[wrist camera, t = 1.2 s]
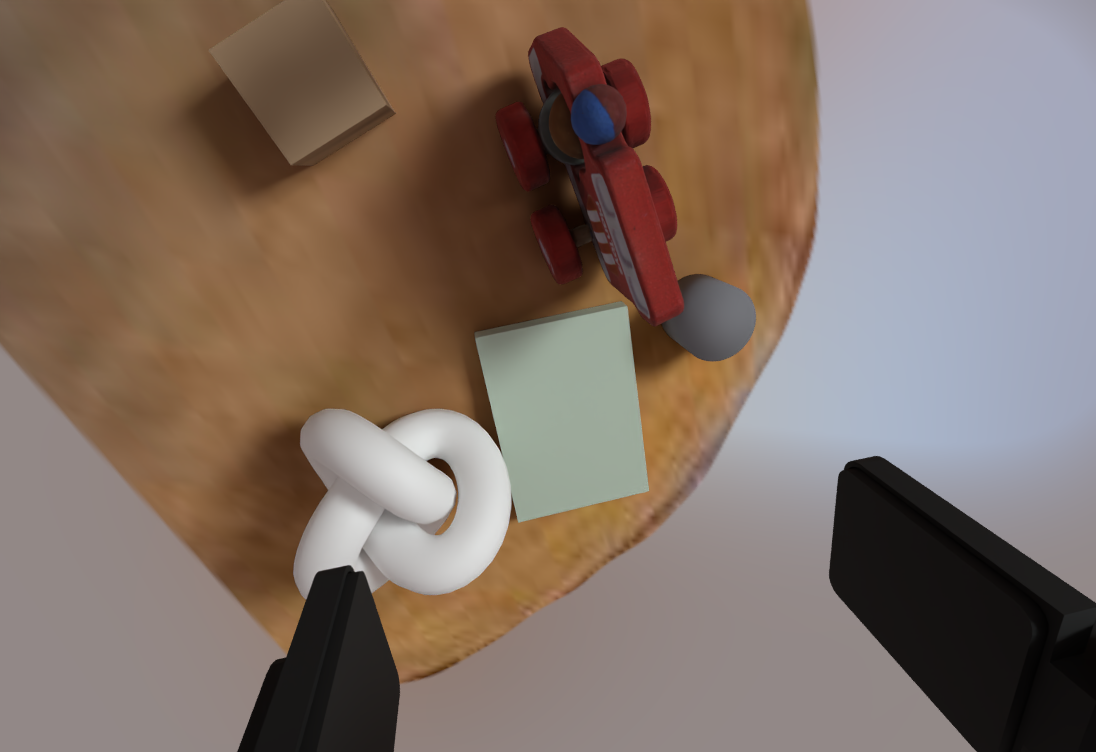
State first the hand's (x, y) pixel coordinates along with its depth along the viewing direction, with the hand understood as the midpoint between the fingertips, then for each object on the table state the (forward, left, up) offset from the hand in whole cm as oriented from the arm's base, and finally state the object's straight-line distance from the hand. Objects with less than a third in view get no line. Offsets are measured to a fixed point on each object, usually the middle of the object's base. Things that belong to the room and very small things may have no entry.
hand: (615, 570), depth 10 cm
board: (+8, +2, -23) cm, 24 cm away
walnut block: (-12, -7, -23) cm, 27 cm away
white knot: (+8, -9, -23) cm, 26 cm away
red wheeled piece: (-6, +5, -23) cm, 24 cm away
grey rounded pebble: (+3, +11, -23) cm, 26 cm away
